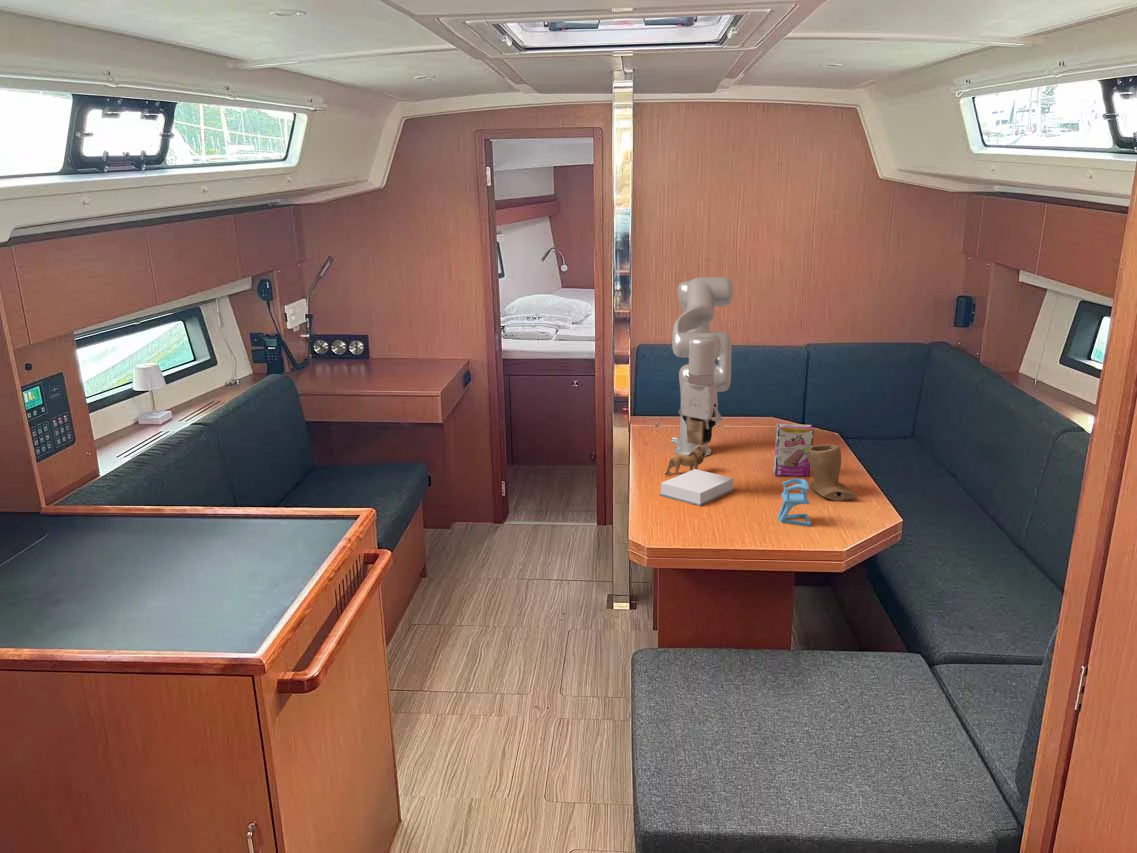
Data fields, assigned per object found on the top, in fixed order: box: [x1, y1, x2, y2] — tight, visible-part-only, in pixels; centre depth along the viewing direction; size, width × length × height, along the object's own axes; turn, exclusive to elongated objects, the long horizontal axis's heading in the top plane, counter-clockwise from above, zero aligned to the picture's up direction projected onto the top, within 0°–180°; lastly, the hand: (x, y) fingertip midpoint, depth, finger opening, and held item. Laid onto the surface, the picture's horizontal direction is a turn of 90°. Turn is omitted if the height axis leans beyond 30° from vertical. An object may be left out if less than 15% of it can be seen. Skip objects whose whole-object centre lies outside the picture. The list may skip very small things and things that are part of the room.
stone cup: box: [807, 443, 857, 502], centre depth 256 cm, size 15×12×15 cm
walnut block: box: [687, 418, 712, 446], centre depth 255 cm, size 5×5×7 cm
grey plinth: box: [659, 468, 735, 507], centre depth 259 cm, size 14×18×4 cm
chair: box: [777, 478, 812, 527], centre depth 236 cm, size 8×8×12 cm
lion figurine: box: [664, 445, 706, 476], centre depth 277 cm, size 15×5×9 cm, turn 113°
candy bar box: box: [773, 423, 815, 478], centre depth 274 cm, size 11×5×16 cm, turn 84°
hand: (699, 438), depth 255 cm, fingers closed on walnut block, 5 cm apart
